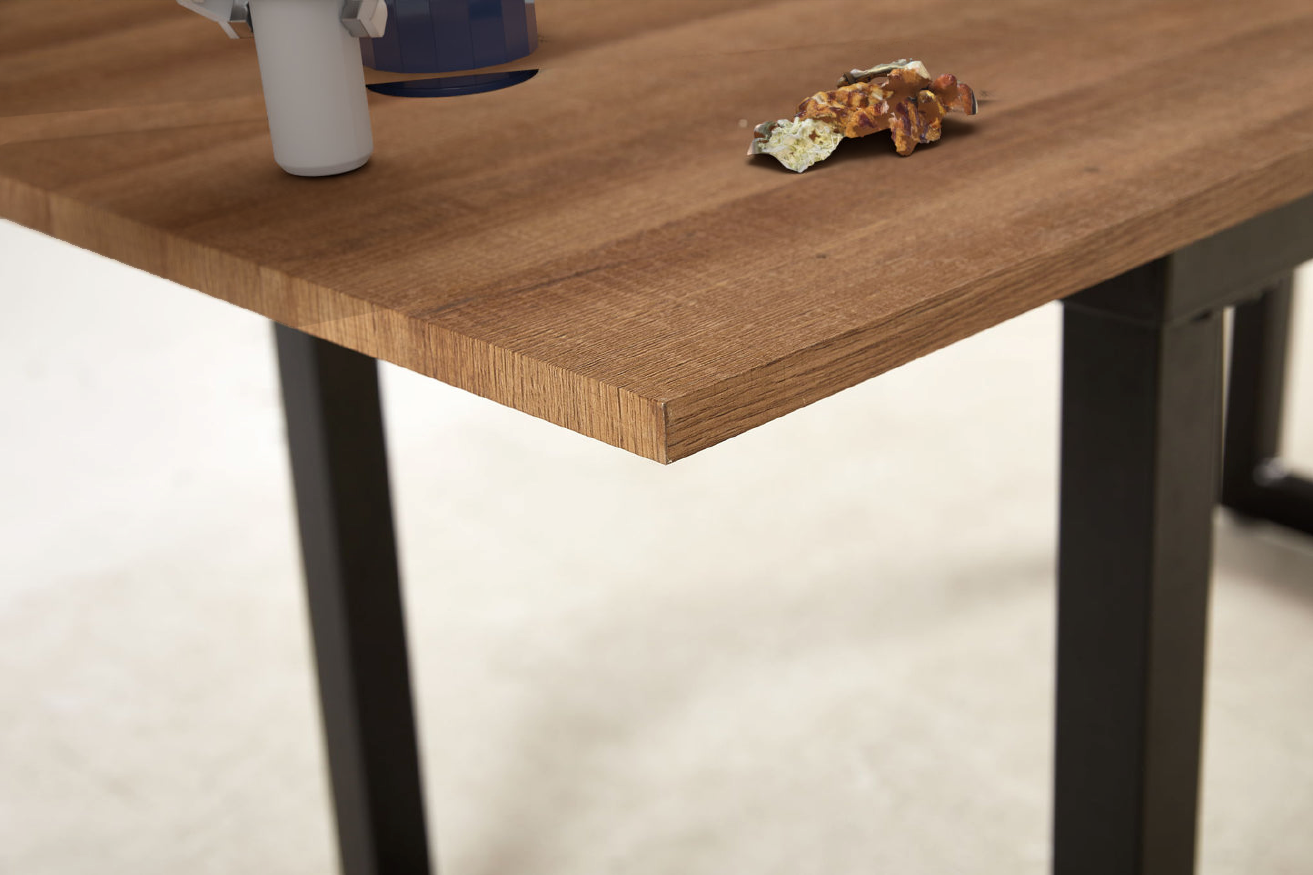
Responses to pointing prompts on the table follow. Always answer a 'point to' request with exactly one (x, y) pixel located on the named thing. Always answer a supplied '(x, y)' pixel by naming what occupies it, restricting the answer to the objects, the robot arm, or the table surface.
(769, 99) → the table surface
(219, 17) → the robot arm
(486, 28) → the pot
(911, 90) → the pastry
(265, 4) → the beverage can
